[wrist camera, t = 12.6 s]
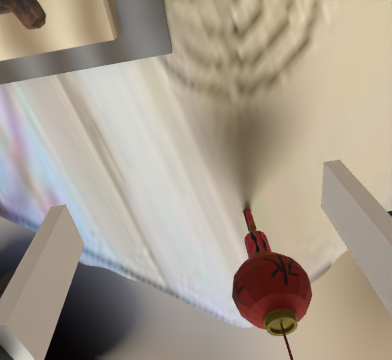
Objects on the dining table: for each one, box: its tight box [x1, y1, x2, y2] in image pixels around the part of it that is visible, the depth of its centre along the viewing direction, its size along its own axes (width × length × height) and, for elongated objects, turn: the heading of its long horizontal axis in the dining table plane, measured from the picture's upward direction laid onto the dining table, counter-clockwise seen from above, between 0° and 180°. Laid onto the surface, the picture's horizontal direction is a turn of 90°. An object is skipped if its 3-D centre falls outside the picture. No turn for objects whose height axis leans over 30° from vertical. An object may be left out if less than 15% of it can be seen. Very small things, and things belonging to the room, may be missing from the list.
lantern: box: [232, 209, 312, 360], centre depth 38 cm, size 10×10×30 cm
